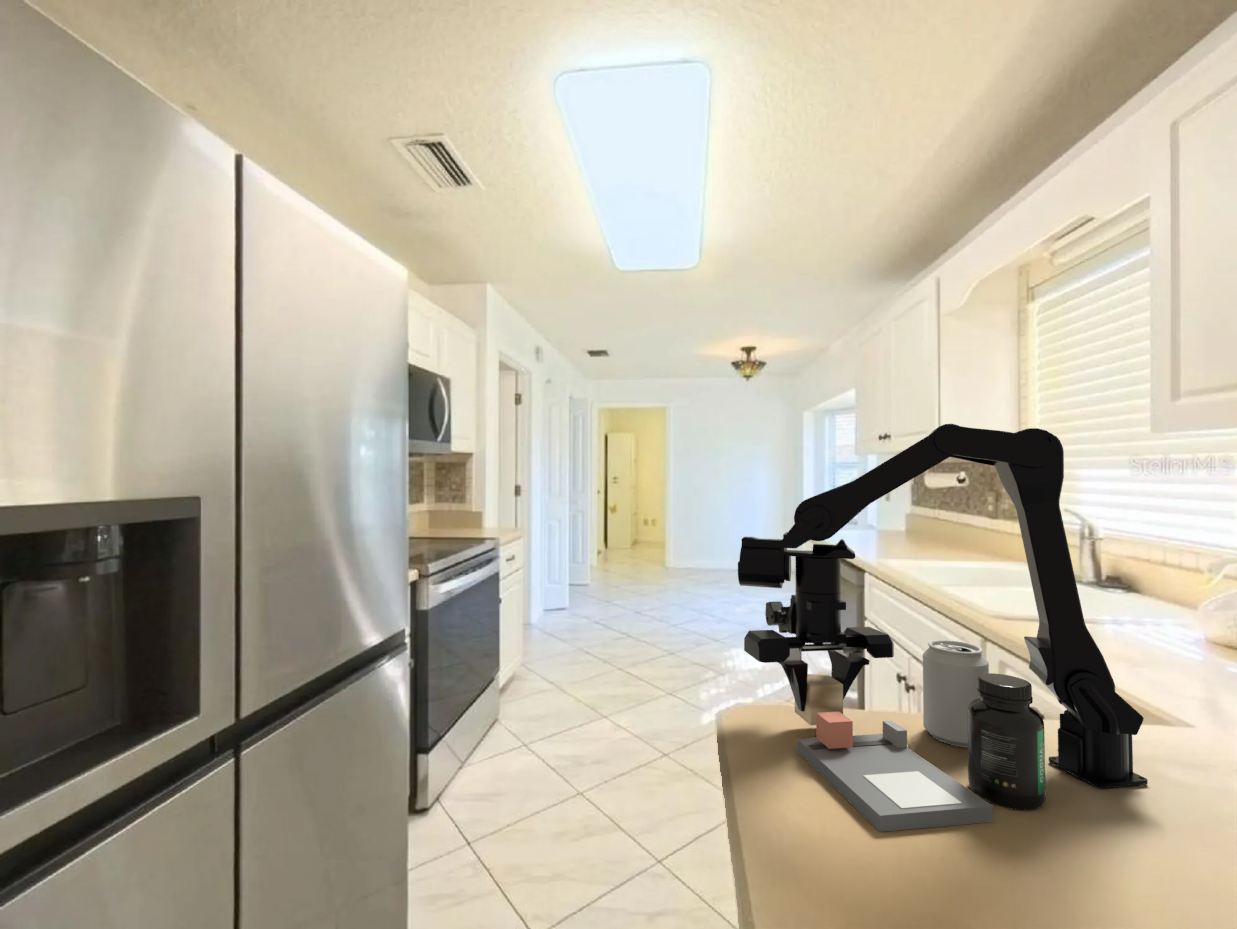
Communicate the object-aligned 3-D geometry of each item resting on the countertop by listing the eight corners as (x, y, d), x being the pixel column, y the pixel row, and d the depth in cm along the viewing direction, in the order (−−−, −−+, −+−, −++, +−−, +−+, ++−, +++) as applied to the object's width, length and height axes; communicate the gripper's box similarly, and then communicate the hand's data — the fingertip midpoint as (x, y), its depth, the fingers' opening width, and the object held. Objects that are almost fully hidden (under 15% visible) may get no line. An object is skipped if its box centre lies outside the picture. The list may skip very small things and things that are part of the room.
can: (1000, 753, 72) (998, 654, 73) (933, 747, 74) (932, 650, 74) (976, 728, 80) (975, 639, 80) (916, 723, 81) (915, 635, 82)
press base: (886, 745, 74) (886, 717, 74) (993, 821, 57) (992, 784, 57) (797, 751, 72) (797, 722, 72) (880, 831, 55) (879, 793, 55)
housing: (825, 710, 81) (825, 673, 81) (843, 723, 76) (842, 684, 76) (794, 712, 80) (794, 674, 80) (810, 725, 75) (810, 685, 76)
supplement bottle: (1062, 810, 59) (1060, 689, 60) (1001, 814, 59) (999, 691, 59) (1010, 777, 66) (1008, 669, 67) (953, 780, 65) (952, 670, 66)
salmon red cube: (839, 736, 72) (839, 711, 72) (852, 747, 69) (852, 721, 69) (816, 737, 72) (816, 712, 72) (828, 748, 69) (828, 722, 69)
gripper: (849, 580, 88) (850, 685, 88) (730, 582, 85) (729, 691, 85) (895, 593, 77) (897, 714, 77) (760, 596, 74) (760, 722, 74)
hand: (818, 709), depth 78 cm, fingers closed on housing, 4 cm apart
